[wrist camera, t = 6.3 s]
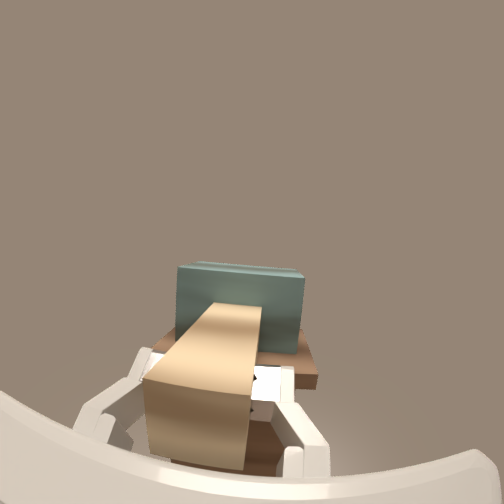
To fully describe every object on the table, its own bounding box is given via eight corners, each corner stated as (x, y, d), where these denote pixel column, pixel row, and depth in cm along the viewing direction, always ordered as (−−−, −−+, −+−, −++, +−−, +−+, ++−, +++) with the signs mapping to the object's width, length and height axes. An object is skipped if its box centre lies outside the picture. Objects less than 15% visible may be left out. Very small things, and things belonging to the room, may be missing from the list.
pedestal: (267, 563, 16) (318, 374, 15) (173, 551, 16) (143, 353, 15) (269, 512, 25) (301, 329, 24) (190, 502, 25) (185, 317, 24)
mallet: (322, 472, 7) (357, 329, 7) (86, 432, 7) (67, 295, 7) (290, 328, 24) (296, 269, 24) (196, 319, 24) (199, 261, 24)
